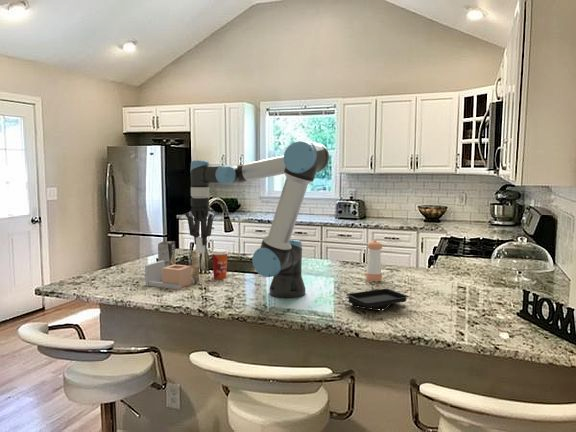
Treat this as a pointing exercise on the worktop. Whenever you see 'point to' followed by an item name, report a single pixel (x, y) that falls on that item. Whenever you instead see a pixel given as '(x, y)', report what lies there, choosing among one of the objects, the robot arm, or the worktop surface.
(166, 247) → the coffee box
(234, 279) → the worktop surface
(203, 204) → the robot arm
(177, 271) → the block
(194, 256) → the dowel
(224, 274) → the paper cup
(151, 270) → the mat with wall
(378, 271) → the pepper shaker
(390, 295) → the tray
